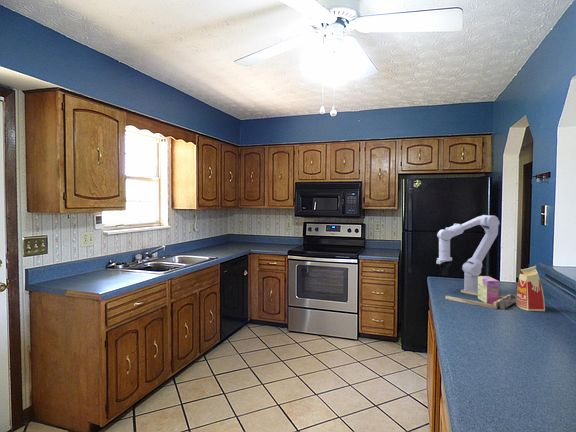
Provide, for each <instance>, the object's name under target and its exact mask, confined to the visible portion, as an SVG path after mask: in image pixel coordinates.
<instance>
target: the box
mask: <svg viewBox="0 0 576 432" xmlns="http://www.w3.org/2000/svg"><path fill="white" fill-rule="evenodd" d="M499 292H500V280H497V279H495V278H493V277H492V276H489V275H479V276H478V296H477V299H478V300H479V301H481V302H482V303H487V304H492V305H494V302H495V301H497V300H499V296H500V295H499V294H500V293H499Z"/></svg>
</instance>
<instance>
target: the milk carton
mask: <svg viewBox="0 0 576 432" xmlns="http://www.w3.org/2000/svg"><path fill="white" fill-rule="evenodd" d="M536 268H537V265H534V266H530V267H528V268H523V269H522V268H521V269H520V273H519V277H518V282H517V288H516V289H517V290H516V303H515V304H516V306H517V308H520V309H521V310H524V311H527V312H534V311H535V312H546V308H545V307H546V305H545V295H544V290H543V285H542V282H541V278H540V275H539V273H538V271H537V269H536Z"/></svg>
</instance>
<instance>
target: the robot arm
mask: <svg viewBox="0 0 576 432" xmlns="http://www.w3.org/2000/svg"><path fill="white" fill-rule="evenodd" d="M500 222H501V221H500V220H499V218H498V217H497V216H496V215H487V214H482V215H479V216H476V217H474V218H472V219H470V220H468V221H466V222H464V223H453V225H451V226H449V227H445V229H440V230H439V231H437V234H436V236H437V238H438V257H436V261H435V262H436V265H438V266H439V269H440V272H441V275H442V276H447V275H448V272H449V268H450V266H451V265H452V261H453V257H451V239H452V238H454V237H457V236H458V235H461V234H463V233H464V231H465V230H468V229H471V228H473V227H475V226H481V228H483V229H484V232H485V234H484V236H483V237H482V239H481V241H480V242H479V245H478V246H477V248H476V249H475V251H474V253H473V255H472V257H470V258H468V259H467V260H466V261H465V262H464V263H463V264H462V268H461V270H462V271H463V272H464V274H463V275H464V276H463V277H464V279H463V280H464V281H463V282H464V286H463V289H462V290H467V291H473V292H478V276H481V274H482V268H483V261H484V259H485V257H486V256H487V254H488V252H489V251H490V249H491V247H492V245H493V244H494V241H495V240H496V239H497V236H498V235H499V225H500V224H501V223H500Z"/></svg>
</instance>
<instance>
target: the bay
mask: <svg viewBox="0 0 576 432" xmlns="http://www.w3.org/2000/svg"><path fill="white" fill-rule="evenodd" d="M460 293H461V294H466V295H467V294H468V295H472V296H477V297H478V292H473V291H467V290H463V289H460ZM445 299H446V300H449V301H454V302H460V303H464V304H469V305H474V306H480V307H484V308H488V309H493V310H497V309H500V310H504V311H505V310H506V309H507V308H509V307H510V306H512V305H514V304H516V303H517V294H513V293H511V294H507V295H505V296H502V295H501V296H500V295H499V299H498V300H497V301H495V302H494V304H487V303H484V302H483V301H481V302H480V301H476V300H471V299H465V298H462V297H461V298H460V297H455V296H451V295H445Z"/></svg>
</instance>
